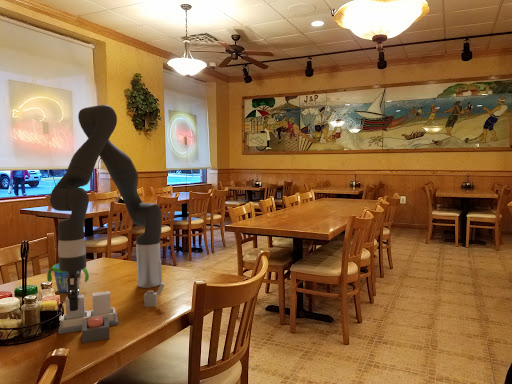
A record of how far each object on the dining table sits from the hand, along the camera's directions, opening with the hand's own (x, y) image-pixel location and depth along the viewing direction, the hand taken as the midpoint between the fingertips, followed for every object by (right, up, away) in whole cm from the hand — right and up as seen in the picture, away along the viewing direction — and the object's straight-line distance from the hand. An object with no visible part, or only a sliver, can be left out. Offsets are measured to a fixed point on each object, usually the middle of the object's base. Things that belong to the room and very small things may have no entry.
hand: (74, 305), depth 117 cm
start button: (+9, -4, -7) cm, 12 cm away
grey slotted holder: (+4, -6, +2) cm, 7 cm away
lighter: (+20, -5, +16) cm, 27 cm away
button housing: (+9, -7, -6) cm, 13 cm away
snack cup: (-18, -4, +33) cm, 38 cm away
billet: (0, -5, +1) cm, 5 cm away
